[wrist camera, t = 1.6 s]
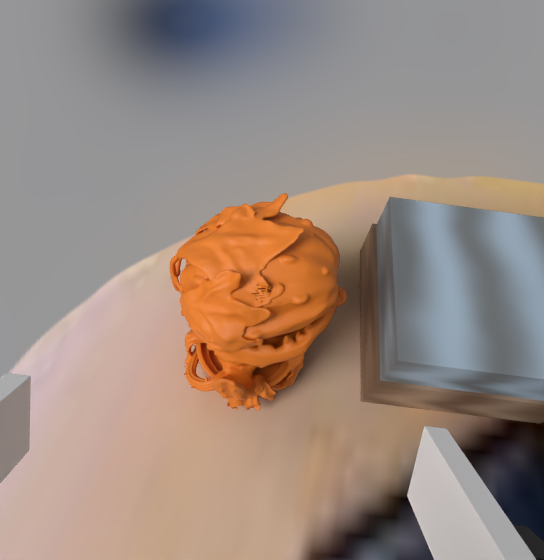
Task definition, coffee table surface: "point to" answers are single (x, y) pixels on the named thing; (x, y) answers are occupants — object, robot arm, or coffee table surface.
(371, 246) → the grey square block
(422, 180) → the coffee table surface
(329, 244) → the orange figurine
